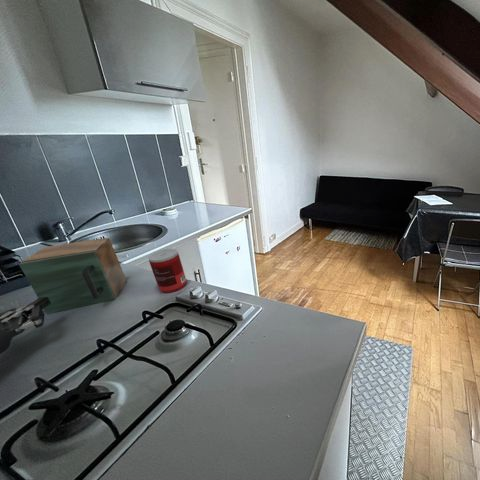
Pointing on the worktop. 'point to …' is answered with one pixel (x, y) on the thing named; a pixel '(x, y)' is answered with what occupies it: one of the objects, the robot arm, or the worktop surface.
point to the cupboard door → (69, 281)
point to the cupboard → (98, 245)
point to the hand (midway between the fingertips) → (46, 300)
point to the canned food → (167, 270)
